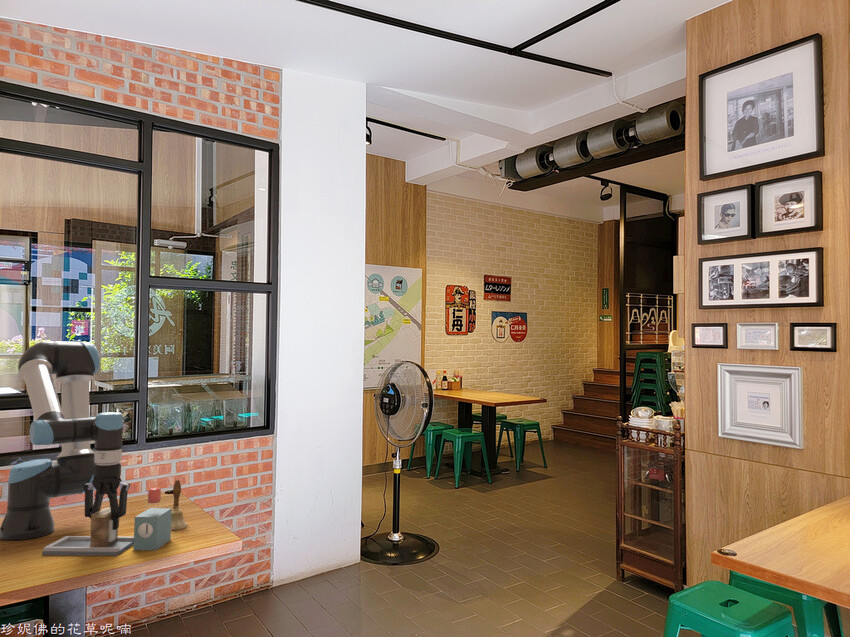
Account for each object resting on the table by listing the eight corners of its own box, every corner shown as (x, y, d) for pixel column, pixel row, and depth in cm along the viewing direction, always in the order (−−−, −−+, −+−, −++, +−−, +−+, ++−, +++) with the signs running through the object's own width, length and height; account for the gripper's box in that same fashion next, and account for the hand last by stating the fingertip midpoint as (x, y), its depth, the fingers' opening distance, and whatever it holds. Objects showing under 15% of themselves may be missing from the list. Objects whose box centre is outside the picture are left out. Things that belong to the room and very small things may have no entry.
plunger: (145, 503, 180) (146, 490, 181) (151, 500, 184) (151, 487, 184) (157, 503, 181) (157, 490, 181) (162, 500, 184) (162, 487, 184)
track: (42, 555, 171) (42, 548, 171) (66, 541, 183) (67, 535, 183) (116, 555, 171) (116, 548, 172) (136, 542, 183) (136, 536, 184)
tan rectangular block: (89, 548, 173) (91, 514, 174) (104, 540, 182) (106, 507, 182) (103, 548, 173) (105, 514, 174) (117, 540, 182) (119, 507, 182)
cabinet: (132, 550, 176) (133, 517, 176) (148, 539, 186) (150, 508, 187) (155, 551, 176) (156, 517, 176) (170, 539, 187) (171, 508, 187)
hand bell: (179, 522, 206) (180, 476, 207) (192, 526, 201) (194, 479, 202) (156, 527, 199) (158, 480, 200) (170, 532, 195) (172, 484, 196)
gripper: (72, 465, 175) (68, 543, 174) (129, 465, 175) (125, 544, 174) (87, 460, 183) (83, 535, 181) (141, 461, 183) (138, 536, 181)
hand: (104, 539), depth 178 cm, fingers closed on tan rectangular block, 4 cm apart
